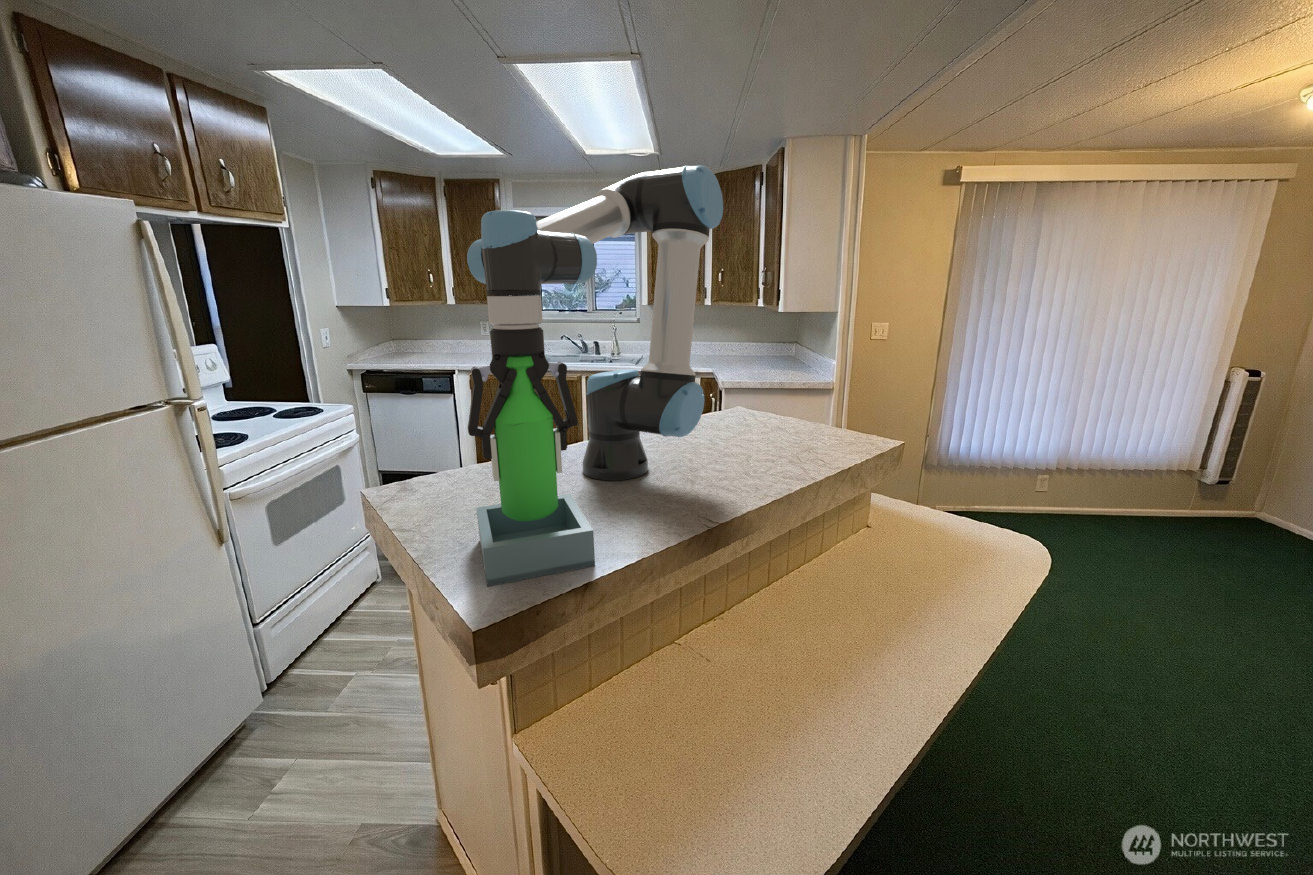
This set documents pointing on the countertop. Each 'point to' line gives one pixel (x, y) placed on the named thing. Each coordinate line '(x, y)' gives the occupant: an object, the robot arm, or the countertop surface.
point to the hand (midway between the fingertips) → (527, 474)
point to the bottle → (525, 450)
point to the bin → (534, 543)
